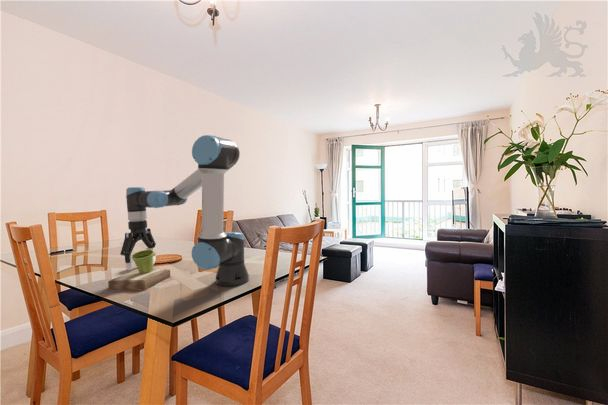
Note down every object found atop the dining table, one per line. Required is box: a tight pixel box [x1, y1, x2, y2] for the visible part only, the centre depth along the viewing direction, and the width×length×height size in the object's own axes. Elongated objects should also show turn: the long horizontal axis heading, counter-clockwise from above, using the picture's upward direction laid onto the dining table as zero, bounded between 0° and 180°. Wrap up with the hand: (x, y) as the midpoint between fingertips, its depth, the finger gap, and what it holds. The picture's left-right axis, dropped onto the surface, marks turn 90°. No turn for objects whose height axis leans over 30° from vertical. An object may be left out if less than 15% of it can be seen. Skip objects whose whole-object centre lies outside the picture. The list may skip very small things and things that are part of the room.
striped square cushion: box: [107, 268, 171, 291], centre depth 134 cm, size 18×18×4 cm
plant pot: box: [131, 249, 155, 273], centre depth 136 cm, size 9×9×9 cm
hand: (140, 265), depth 133 cm, fingers open, 13 cm apart
